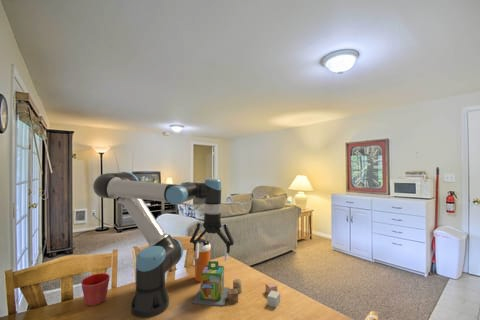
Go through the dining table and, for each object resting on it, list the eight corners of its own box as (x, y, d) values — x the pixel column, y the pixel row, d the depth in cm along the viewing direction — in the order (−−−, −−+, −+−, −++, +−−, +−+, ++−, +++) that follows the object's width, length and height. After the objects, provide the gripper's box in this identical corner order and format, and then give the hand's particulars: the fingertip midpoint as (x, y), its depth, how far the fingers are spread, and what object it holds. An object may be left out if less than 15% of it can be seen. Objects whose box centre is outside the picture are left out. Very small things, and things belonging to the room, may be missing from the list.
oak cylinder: (232, 293, 110) (232, 282, 110) (233, 289, 114) (233, 278, 114) (240, 294, 110) (241, 283, 110) (241, 289, 114) (242, 279, 114)
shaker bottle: (202, 273, 131) (202, 236, 131) (214, 277, 125) (214, 239, 126) (189, 279, 123) (190, 241, 124) (202, 284, 118) (202, 244, 118)
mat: (192, 303, 102) (192, 302, 102) (201, 286, 116) (201, 285, 116) (224, 306, 101) (224, 304, 101) (229, 288, 114) (229, 287, 114)
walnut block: (229, 303, 103) (229, 294, 103) (228, 298, 107) (228, 289, 107) (238, 302, 103) (238, 293, 103) (236, 297, 107) (236, 288, 107)
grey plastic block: (267, 305, 102) (267, 295, 102) (271, 299, 106) (271, 290, 106) (276, 307, 100) (276, 298, 100) (280, 301, 104) (280, 292, 104)
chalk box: (200, 299, 104) (200, 266, 104) (205, 288, 113) (205, 257, 113) (220, 301, 103) (221, 267, 103) (224, 289, 112) (224, 258, 112)
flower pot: (75, 309, 98) (75, 286, 98) (88, 295, 108) (88, 273, 109) (103, 307, 99) (103, 284, 99) (113, 293, 110) (113, 272, 110)
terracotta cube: (269, 296, 108) (269, 287, 108) (265, 291, 112) (265, 283, 112) (277, 294, 110) (277, 285, 110) (272, 290, 114) (272, 281, 114)
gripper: (183, 213, 107) (182, 260, 106) (238, 215, 104) (237, 264, 103) (189, 209, 114) (188, 253, 114) (240, 212, 111) (239, 257, 111)
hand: (211, 259), depth 109 cm, fingers open, 13 cm apart
